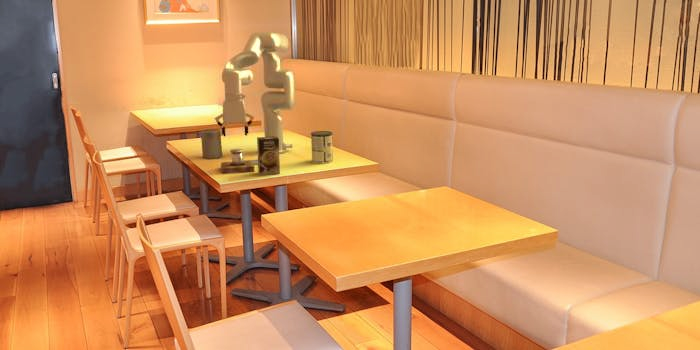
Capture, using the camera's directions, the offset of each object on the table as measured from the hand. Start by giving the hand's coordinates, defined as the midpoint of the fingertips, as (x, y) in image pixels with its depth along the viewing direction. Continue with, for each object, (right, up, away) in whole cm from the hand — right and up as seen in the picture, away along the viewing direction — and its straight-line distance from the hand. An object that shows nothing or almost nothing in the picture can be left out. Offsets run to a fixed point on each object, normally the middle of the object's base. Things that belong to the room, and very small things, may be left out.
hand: (235, 135), depth 288 cm
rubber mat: (+4, -12, +18) cm, 22 cm away
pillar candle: (-18, -9, +33) cm, 38 cm away
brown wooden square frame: (0, -15, +4) cm, 16 cm away
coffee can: (+39, -11, +20) cm, 45 cm away
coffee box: (+16, -17, -4) cm, 24 cm away
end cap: (0, -15, +4) cm, 16 cm away
